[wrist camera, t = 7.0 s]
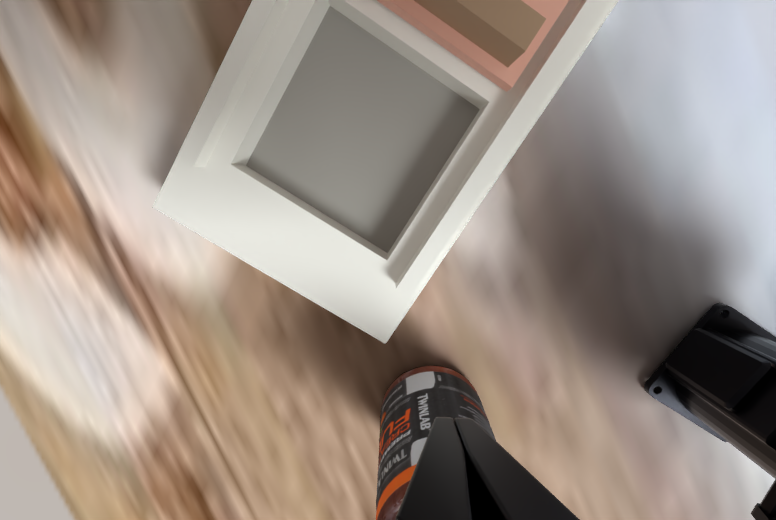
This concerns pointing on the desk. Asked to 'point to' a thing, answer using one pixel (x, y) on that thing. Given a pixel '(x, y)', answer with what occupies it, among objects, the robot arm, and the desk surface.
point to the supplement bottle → (417, 426)
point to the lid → (484, 31)
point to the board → (355, 148)
